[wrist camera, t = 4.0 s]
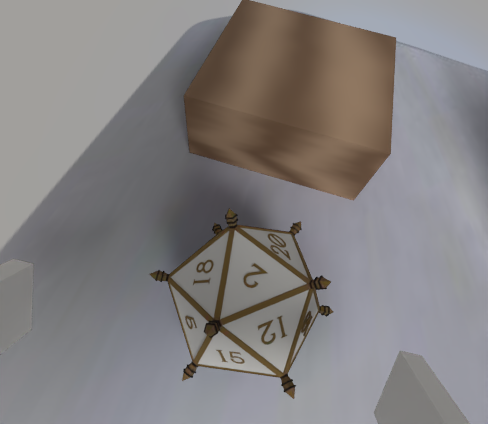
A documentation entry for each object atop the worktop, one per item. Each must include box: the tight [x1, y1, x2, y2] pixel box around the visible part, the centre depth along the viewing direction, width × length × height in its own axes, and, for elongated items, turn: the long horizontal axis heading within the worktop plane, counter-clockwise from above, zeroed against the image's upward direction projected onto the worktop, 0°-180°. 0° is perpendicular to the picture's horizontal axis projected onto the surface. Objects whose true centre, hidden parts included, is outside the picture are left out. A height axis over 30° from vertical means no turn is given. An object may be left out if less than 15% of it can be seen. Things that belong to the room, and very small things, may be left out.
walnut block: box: [184, 0, 396, 200], centre depth 25 cm, size 14×14×6 cm
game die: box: [150, 208, 333, 399], centre depth 15 cm, size 9×8×10 cm
